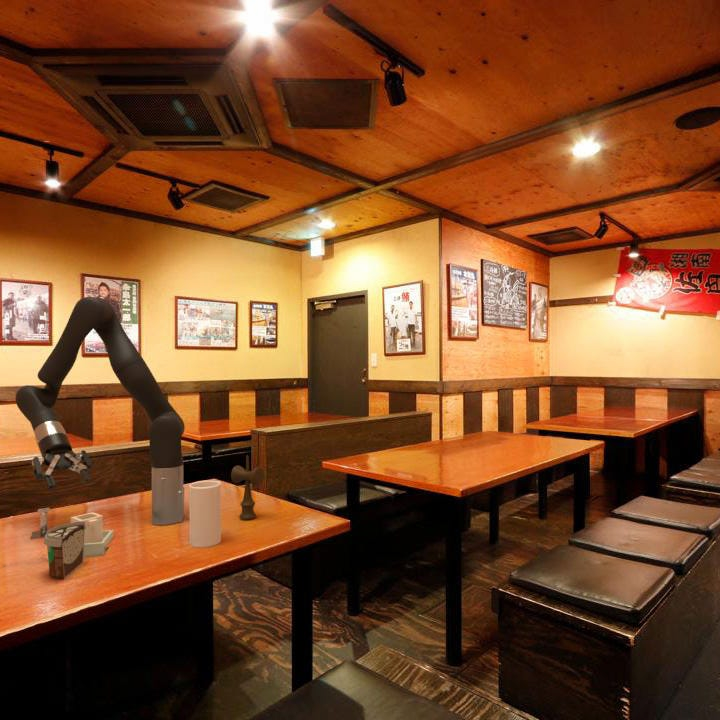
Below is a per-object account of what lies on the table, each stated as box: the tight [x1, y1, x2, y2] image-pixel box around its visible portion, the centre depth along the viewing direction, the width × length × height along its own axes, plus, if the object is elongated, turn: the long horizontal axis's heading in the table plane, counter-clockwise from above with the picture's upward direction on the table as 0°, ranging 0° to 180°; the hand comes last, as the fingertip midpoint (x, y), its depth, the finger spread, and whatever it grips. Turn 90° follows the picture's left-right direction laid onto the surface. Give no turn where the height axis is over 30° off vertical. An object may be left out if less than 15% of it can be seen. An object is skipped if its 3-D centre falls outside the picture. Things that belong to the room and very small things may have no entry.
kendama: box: [230, 454, 265, 521], centre depth 159 cm, size 6×10×20 cm, turn 65°
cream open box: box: [70, 511, 104, 544], centre depth 133 cm, size 6×7×8 cm
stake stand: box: [29, 507, 51, 541], centre depth 142 cm, size 8×7×8 cm
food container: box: [43, 521, 86, 580], centre depth 119 cm, size 12×6×10 cm, turn 5°
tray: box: [83, 529, 115, 558], centre depth 133 cm, size 10×10×3 cm
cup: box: [189, 480, 222, 548], centre depth 138 cm, size 8×8×16 cm
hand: (70, 485), depth 139 cm, fingers open, 8 cm apart
